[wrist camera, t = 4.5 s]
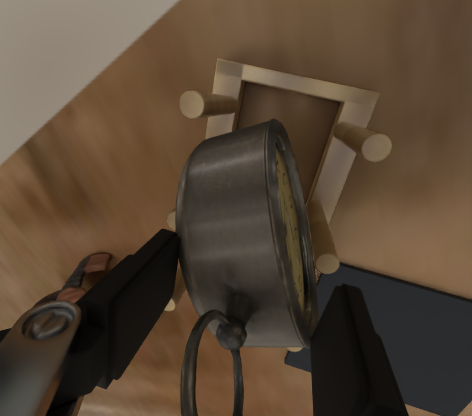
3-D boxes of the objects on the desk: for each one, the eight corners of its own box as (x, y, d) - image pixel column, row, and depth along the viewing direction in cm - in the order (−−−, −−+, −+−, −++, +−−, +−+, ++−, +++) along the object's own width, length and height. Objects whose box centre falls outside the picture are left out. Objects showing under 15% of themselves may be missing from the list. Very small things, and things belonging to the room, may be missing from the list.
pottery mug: (131, 241, 28) (118, 317, 22) (162, 282, 35) (158, 348, 29) (23, 263, 28) (-18, 345, 22) (75, 300, 35) (54, 370, 29)
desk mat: (539, 319, 22) (544, 323, 21) (450, 414, 27) (453, 420, 27) (326, 258, 24) (327, 261, 23) (284, 359, 29) (284, 363, 29)
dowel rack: (373, 93, 18) (449, 83, 9) (299, 286, 25) (303, 382, 16) (222, 61, 19) (166, 25, 11) (191, 254, 26) (142, 327, 18)
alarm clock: (315, 251, 21) (371, 608, 6) (250, 259, 22) (170, 563, 8) (287, 111, 17) (261, 153, 3) (213, 132, 19) (-64, 233, 4)
